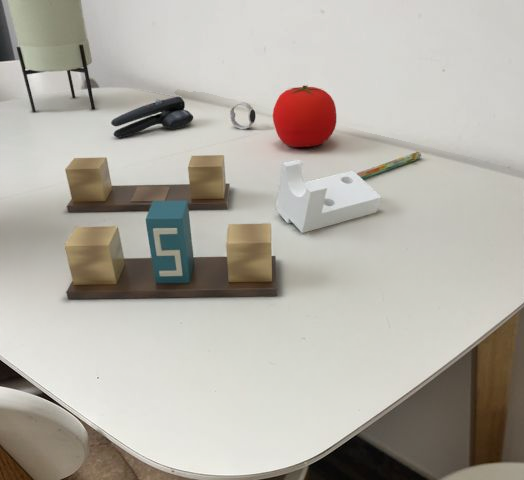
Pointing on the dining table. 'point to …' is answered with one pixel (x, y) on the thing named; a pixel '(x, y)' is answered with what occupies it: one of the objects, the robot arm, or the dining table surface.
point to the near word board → (143, 283)
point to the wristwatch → (250, 116)
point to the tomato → (304, 116)
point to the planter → (51, 39)
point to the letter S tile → (170, 241)
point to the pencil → (389, 165)
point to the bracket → (322, 198)
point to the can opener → (154, 117)
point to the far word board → (146, 187)
